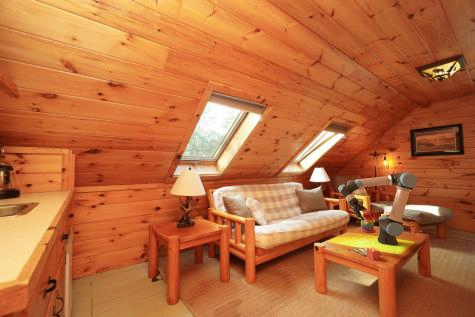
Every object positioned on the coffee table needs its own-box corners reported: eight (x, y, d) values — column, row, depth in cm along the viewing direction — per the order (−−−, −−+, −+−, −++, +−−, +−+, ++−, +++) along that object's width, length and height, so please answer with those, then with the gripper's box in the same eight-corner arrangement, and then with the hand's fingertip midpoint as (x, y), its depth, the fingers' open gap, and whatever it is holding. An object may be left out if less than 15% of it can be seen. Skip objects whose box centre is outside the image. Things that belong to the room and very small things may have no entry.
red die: (373, 256, 170) (373, 248, 170) (380, 259, 164) (379, 250, 165) (366, 256, 169) (366, 248, 169) (373, 259, 163) (372, 251, 164)
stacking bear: (376, 231, 181) (376, 210, 181) (373, 234, 173) (373, 211, 174) (361, 229, 188) (361, 208, 188) (358, 231, 181) (358, 209, 181)
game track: (368, 248, 186) (368, 247, 186) (380, 254, 173) (380, 253, 173) (352, 249, 183) (352, 249, 183) (363, 256, 170) (363, 255, 170)
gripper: (357, 201, 200) (375, 224, 185) (341, 203, 190) (359, 227, 175) (362, 196, 195) (381, 219, 181) (347, 198, 185) (365, 222, 171)
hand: (370, 223), depth 178 cm, fingers closed on stacking bear, 9 cm apart
